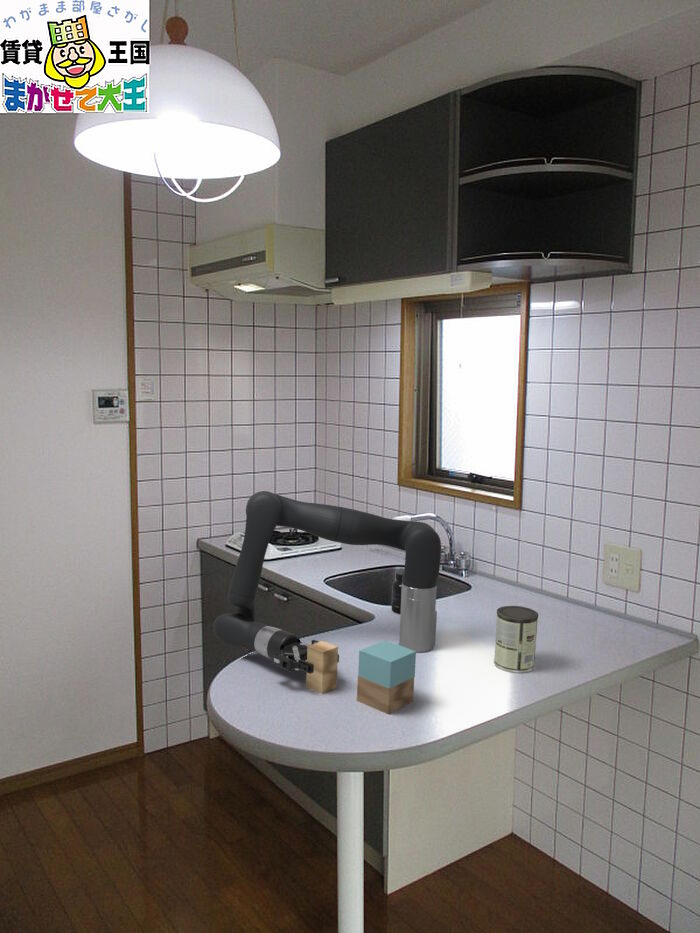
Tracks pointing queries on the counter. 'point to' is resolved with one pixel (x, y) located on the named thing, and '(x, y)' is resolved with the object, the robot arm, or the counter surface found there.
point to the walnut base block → (385, 695)
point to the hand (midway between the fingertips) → (325, 664)
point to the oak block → (322, 667)
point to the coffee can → (515, 639)
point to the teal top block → (387, 664)
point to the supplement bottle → (397, 593)
